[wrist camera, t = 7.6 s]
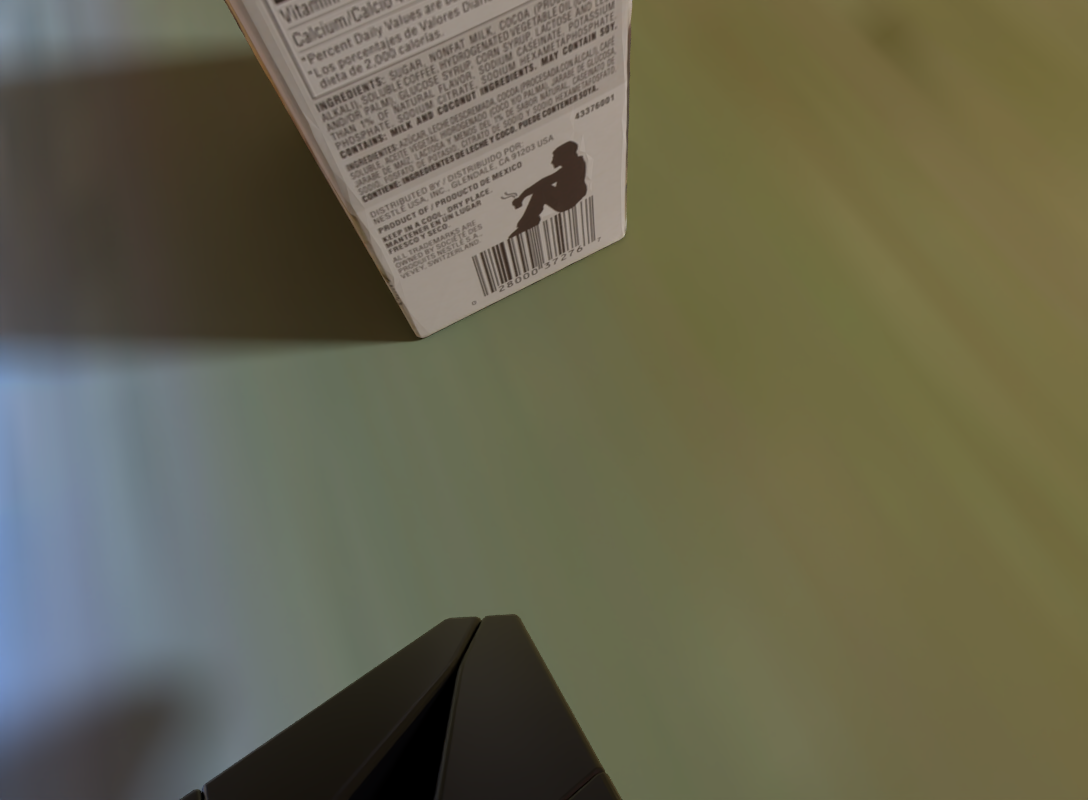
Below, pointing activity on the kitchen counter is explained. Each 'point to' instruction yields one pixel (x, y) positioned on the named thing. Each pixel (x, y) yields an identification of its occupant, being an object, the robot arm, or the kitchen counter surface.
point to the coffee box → (459, 133)
